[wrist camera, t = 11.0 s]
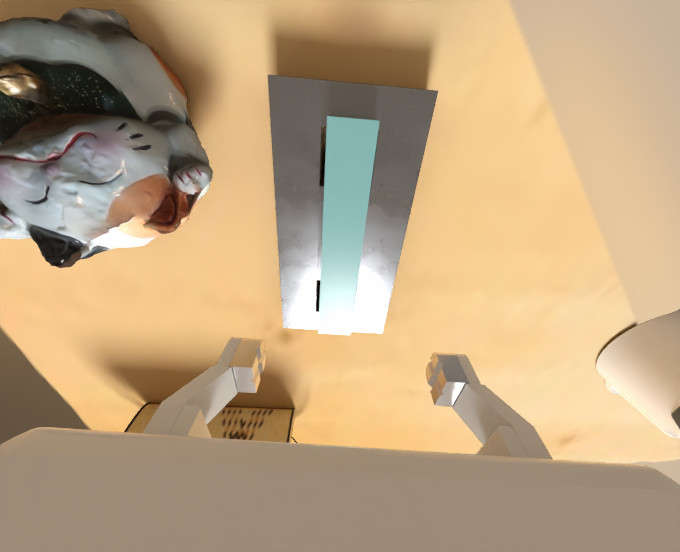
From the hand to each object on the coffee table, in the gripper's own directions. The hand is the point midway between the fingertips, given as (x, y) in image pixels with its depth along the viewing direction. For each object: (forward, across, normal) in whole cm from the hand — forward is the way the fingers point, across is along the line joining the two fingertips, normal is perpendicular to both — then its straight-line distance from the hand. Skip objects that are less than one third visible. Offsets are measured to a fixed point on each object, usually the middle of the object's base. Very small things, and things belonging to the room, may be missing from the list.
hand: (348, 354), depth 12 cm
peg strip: (+16, 0, +1) cm, 17 cm away
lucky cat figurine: (+17, +19, -7) cm, 26 cm away
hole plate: (+17, +1, 0) cm, 17 cm away
